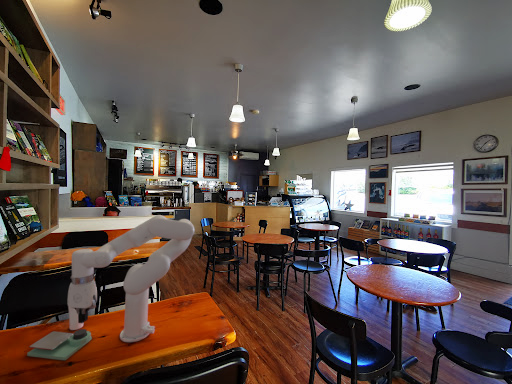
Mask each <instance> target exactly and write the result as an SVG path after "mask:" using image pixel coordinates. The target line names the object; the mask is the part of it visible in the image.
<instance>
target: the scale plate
mask: <svg viewBox="0 0 512 384" xmlns="http://www.w3.org/2000/svg"><path fill="white" fill-rule="evenodd" d="M73 335H74V332H63V331H54V330H53V331H51V332H49V333H48V334H47V335H45V336H43V337H42V338H40V339H38V340H37V341H35V342H34V343H32V344H31V345H28V348H29V349H34V348H38V349H46V350H53V349H55V348H56V347H58V346H59V345H60V344H62V343H63V342H65V341H66V340H67V339H69V338H70V337H72V336H73Z"/></svg>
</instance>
